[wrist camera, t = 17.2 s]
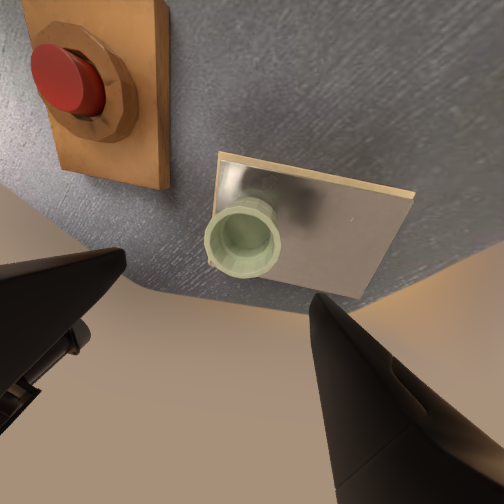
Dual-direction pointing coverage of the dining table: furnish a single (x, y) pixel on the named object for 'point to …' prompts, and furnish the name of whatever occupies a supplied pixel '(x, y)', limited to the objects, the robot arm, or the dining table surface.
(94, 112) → the tare button
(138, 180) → the block
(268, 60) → the dining table surface
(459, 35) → the dining table surface
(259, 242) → the mint green cup
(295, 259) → the pan
